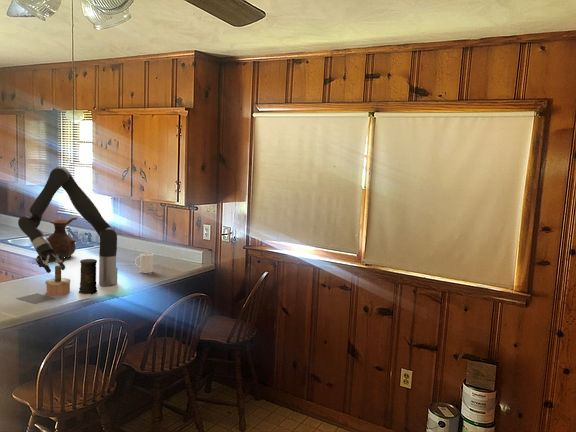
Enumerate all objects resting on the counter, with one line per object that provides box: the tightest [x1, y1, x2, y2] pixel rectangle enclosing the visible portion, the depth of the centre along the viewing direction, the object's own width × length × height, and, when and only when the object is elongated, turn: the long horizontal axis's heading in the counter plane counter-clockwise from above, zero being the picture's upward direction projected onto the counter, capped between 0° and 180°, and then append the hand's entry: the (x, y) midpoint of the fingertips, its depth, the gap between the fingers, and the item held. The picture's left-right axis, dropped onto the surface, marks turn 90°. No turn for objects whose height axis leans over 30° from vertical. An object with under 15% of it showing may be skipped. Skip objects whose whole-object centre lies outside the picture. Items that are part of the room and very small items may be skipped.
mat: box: [15, 292, 57, 305], centre depth 236 cm, size 12×15×1 cm
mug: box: [134, 252, 154, 273], centre depth 303 cm, size 12×8×12 cm
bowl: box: [45, 282, 71, 296], centre depth 248 cm, size 11×11×6 cm
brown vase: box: [46, 215, 79, 258], centre depth 329 cm, size 22×22×30 cm
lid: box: [44, 265, 71, 285], centre depth 247 cm, size 12×12×9 cm
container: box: [78, 258, 98, 295], centre depth 251 cm, size 9×9×18 cm
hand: (56, 270), depth 247 cm, fingers open, 8 cm apart
